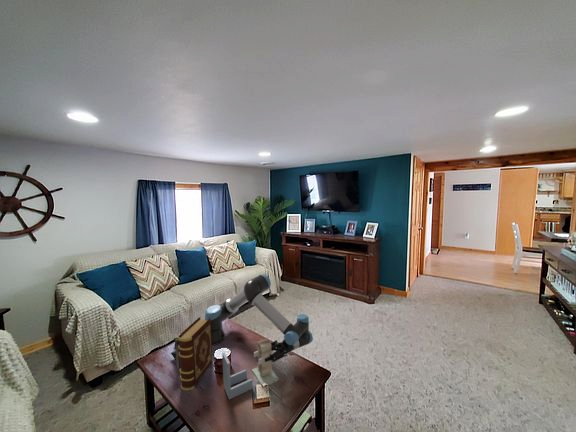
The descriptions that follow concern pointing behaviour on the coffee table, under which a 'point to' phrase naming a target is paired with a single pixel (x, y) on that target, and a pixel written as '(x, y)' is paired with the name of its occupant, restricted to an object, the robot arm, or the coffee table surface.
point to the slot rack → (234, 380)
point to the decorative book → (195, 352)
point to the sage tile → (265, 377)
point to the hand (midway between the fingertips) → (256, 358)
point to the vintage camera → (176, 352)
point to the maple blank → (263, 351)
